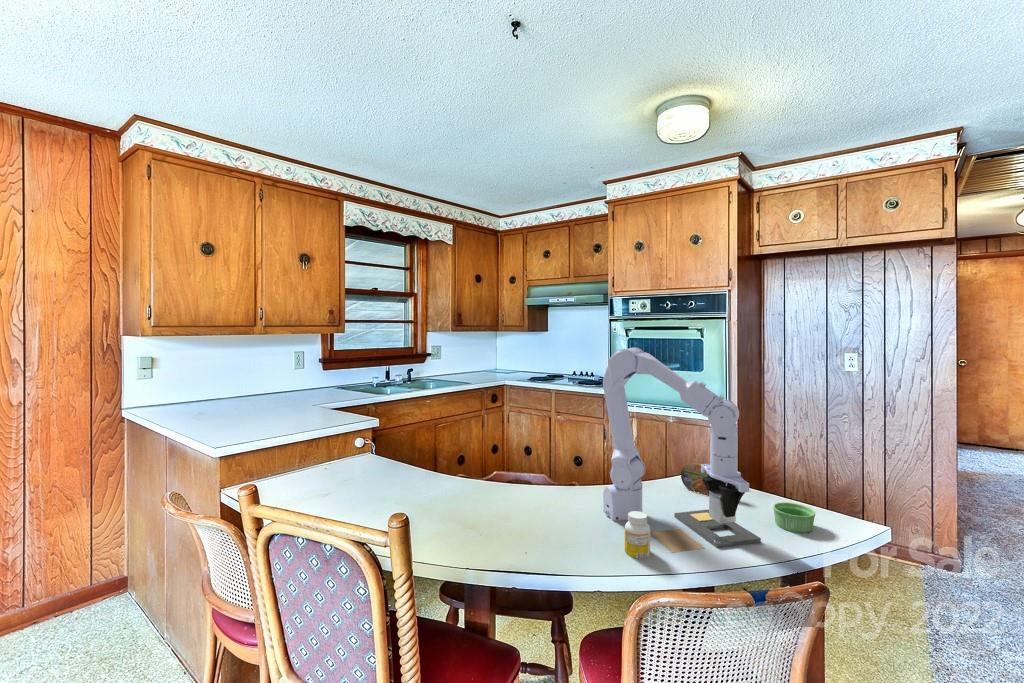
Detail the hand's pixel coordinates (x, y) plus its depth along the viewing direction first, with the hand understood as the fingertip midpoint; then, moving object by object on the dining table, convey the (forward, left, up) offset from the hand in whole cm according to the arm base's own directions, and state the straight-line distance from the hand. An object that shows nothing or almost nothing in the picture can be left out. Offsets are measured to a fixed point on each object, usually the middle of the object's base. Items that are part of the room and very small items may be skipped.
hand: (723, 512), depth 110 cm
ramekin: (+22, +3, -7) cm, 23 cm away
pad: (-12, 0, -7) cm, 14 cm away
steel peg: (0, 0, -2) cm, 2 cm away
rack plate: (0, +3, -7) cm, 7 cm away
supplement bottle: (-23, -3, -7) cm, 24 cm away
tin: (+15, +28, -7) cm, 33 cm away
